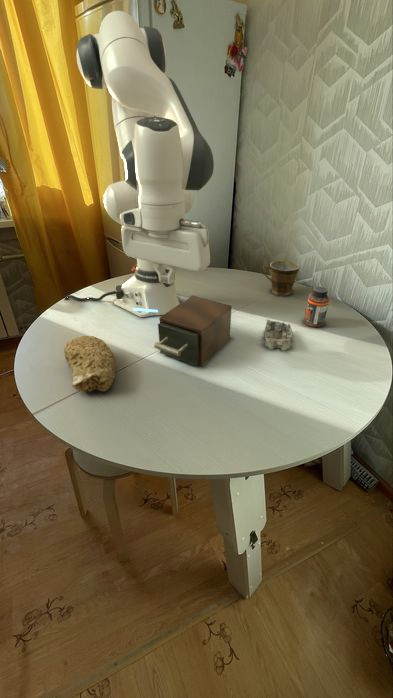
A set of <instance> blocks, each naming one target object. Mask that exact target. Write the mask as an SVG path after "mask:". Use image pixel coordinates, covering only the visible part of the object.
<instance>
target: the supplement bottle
mask: <svg viewBox="0 0 393 698" xmlns="http://www.w3.org/2000/svg"><path fill="white" fill-rule="evenodd" d="M328 292H329V290H328V288H326V286H314V287H313V290H312V293H310V294H309V295H308V296H307V297H308V298H307V302H306V308H305V313H304V319H303V322H304V324H306V326H309V327H312V328H320V327H323V326H324V325H325V322H326V317H327V312H328V308H329V303H330V297H329V296H328Z"/></svg>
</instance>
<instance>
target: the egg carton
mask: <svg viewBox="0 0 393 698" xmlns="http://www.w3.org/2000/svg"><path fill="white" fill-rule="evenodd" d="M263 336H264V340H265V342H264V346H265V347H266V348H268V349H269V350H274V349H275V348H276V349H277V348H278V349H280V350H281V351H286V350H288V349H290V348H291V345H292V336H293V329H292V325H291V324H290V323H287V324H285V322H284V321H283V322H281V321H276V320H274V321H273V320H271V319H267V320H266V323H265V327H264V333H263Z"/></svg>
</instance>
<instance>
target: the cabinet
mask: <svg viewBox="0 0 393 698" xmlns="http://www.w3.org/2000/svg"><path fill="white" fill-rule="evenodd" d="M179 303H180V304H179V305H178V306H176V307H175V308H173V309H172V310H170V311H169V312H167V313H166V314H164V315H160V317H158V319H159V323H160V322H161V323H165V324H166V323H169V324H172V325H175V326H179V327H182V328H185V329H188V330H191V331H195V332H198V333H199V364H198V365H197V366H198V367H203V366H205V364H207V362H208V361H209V360H211V358H212V357H213V356H214V355H215V354H217V352H219V350H221V349H222V347H223V346H225V344H227V342H229V340H230V339H231V329H232V328H231V327H232V307H233V306H232V305H231V304H227V303H223V302H219V301H215V300H212V299H209V298H208V299H207V298H205V297H201V296H197V295H190V296H189V297H188V298H186V299H185V300H183V301H181V302H179Z"/></svg>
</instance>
